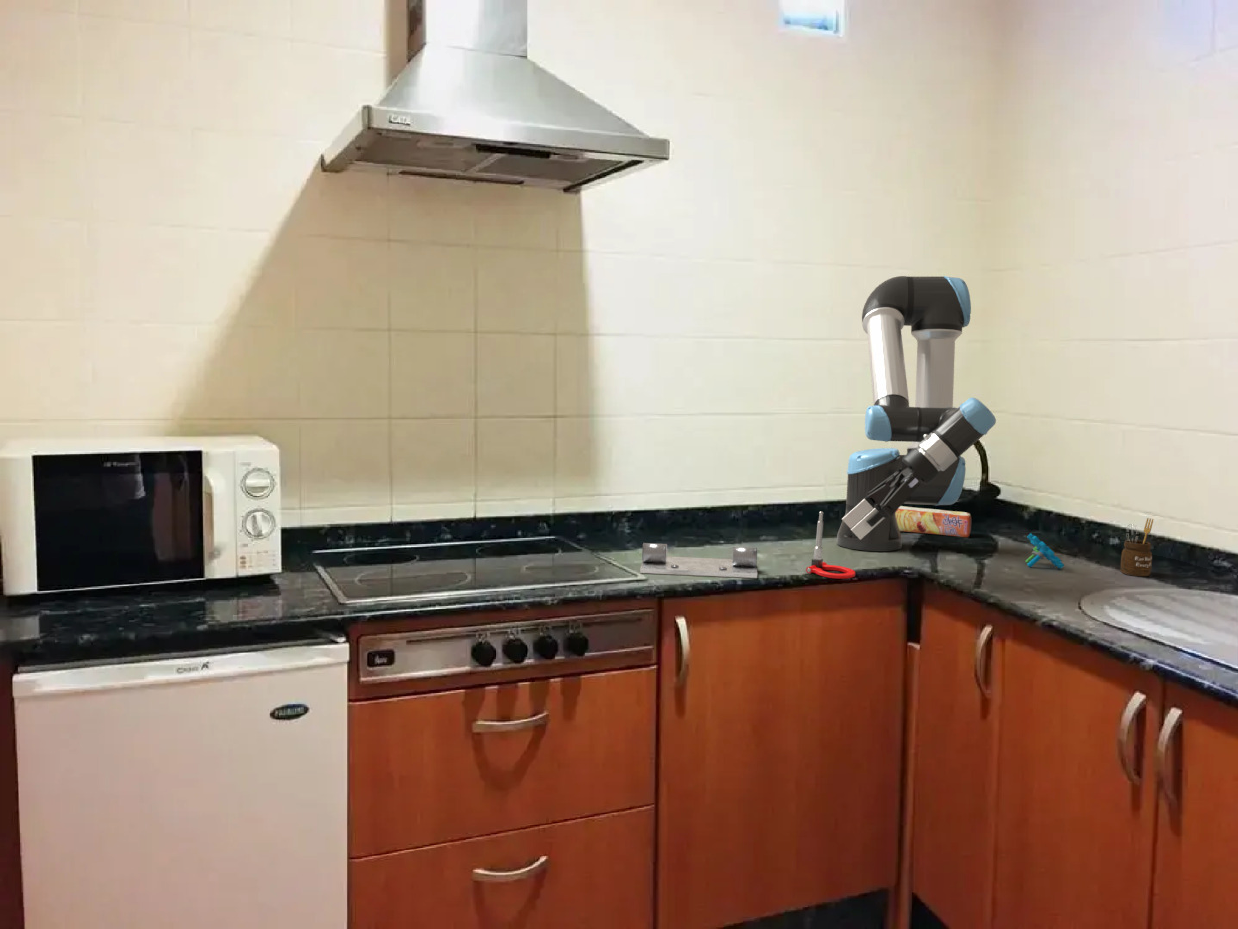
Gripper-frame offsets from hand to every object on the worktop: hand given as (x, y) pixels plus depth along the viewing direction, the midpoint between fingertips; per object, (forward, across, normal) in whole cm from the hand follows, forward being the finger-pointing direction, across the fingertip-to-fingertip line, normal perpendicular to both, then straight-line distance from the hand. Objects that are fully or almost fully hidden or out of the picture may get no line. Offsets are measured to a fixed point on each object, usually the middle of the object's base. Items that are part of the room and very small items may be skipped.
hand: (850, 529), depth 214 cm
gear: (-25, -16, +38) cm, 48 cm away
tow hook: (+9, -1, +5) cm, 10 cm away
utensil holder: (-38, -12, +52) cm, 65 cm away
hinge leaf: (+29, 0, -15) cm, 33 cm away
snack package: (-13, -55, +26) cm, 62 cm away
